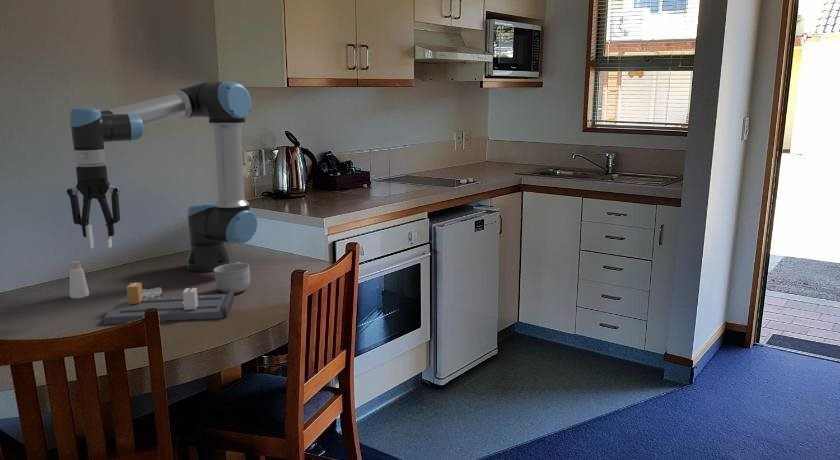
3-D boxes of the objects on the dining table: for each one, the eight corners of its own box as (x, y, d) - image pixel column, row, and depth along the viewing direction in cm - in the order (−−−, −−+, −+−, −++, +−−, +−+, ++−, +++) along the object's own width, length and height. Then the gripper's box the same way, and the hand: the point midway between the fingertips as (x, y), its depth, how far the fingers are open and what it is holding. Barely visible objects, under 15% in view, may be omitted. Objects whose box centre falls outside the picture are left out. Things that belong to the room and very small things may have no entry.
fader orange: (132, 299, 188) (130, 282, 187) (143, 299, 188) (141, 282, 187) (128, 303, 184) (126, 286, 183) (139, 303, 184) (137, 286, 183)
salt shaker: (65, 297, 197) (61, 262, 195) (80, 292, 202) (76, 258, 200) (78, 299, 196) (74, 264, 193) (93, 294, 200) (89, 260, 198)
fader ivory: (187, 305, 182) (185, 288, 181) (198, 304, 183) (196, 287, 182) (184, 309, 178) (182, 292, 177) (195, 309, 179) (194, 291, 178)
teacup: (241, 297, 197) (239, 272, 195) (208, 295, 199) (206, 270, 197) (261, 284, 210) (259, 260, 209) (230, 282, 212) (228, 258, 211)
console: (122, 305, 190) (121, 295, 189) (234, 299, 194) (233, 289, 193) (104, 324, 174) (103, 313, 173) (226, 317, 179) (225, 306, 178)
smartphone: (135, 304, 189) (137, 289, 203) (136, 308, 189) (138, 292, 203) (162, 301, 192) (162, 286, 205) (163, 305, 192) (163, 290, 206)
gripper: (51, 167, 172) (62, 252, 177) (119, 165, 174) (128, 249, 179) (62, 164, 179) (72, 245, 184) (127, 162, 181) (136, 243, 186)
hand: (100, 247), depth 181 cm, fingers open, 4 cm apart
